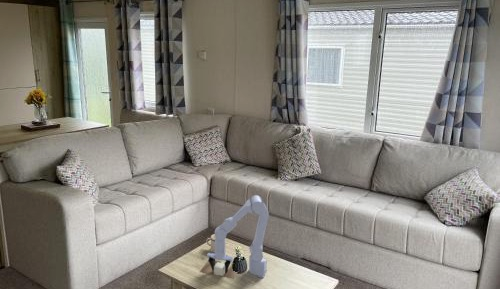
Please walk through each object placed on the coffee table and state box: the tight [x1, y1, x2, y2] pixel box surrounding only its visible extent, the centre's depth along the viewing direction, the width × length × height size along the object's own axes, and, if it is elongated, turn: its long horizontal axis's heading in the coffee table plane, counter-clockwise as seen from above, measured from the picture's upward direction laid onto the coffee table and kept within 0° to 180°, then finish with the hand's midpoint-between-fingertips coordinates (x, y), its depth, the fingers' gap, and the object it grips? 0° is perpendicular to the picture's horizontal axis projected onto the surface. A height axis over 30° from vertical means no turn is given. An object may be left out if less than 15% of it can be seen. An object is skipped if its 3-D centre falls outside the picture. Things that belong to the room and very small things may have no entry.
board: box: [199, 259, 239, 279], centre depth 223 cm, size 20×14×4 cm
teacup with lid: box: [205, 233, 215, 253], centre depth 244 cm, size 12×9×12 cm
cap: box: [214, 262, 225, 277], centre depth 219 cm, size 5×5×4 cm
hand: (219, 271), depth 219 cm, fingers open, 7 cm apart
